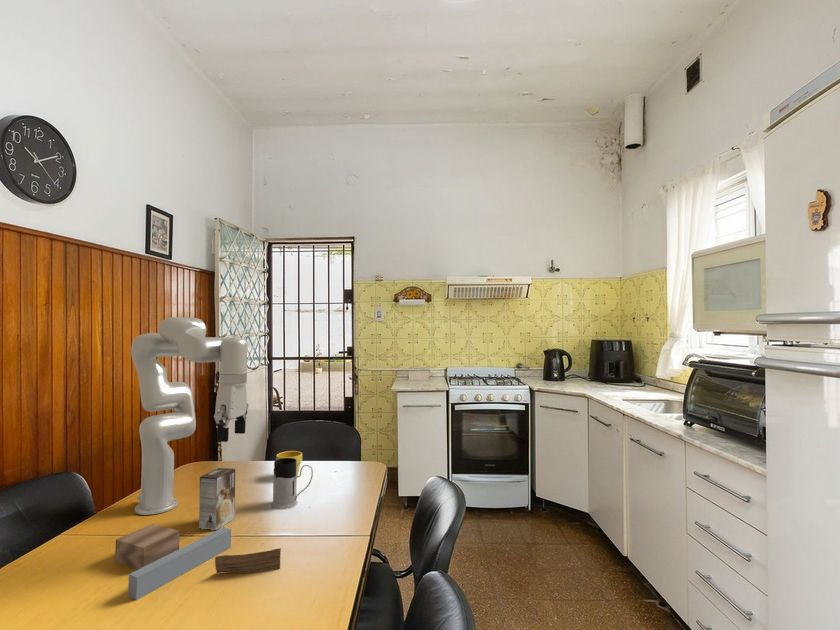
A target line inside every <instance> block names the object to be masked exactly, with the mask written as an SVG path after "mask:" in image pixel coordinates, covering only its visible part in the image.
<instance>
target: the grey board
mask: <svg viewBox="0 0 840 630" xmlns="http://www.w3.org/2000/svg"><path fill="white" fill-rule="evenodd" d="M230 547H231V548H232V529H231V528H228V527H225V526H222V527H221V528H220V529H218V530H217V531H213V532H211V533H208V534H207V535H205V536H203V537H200V538H199V539H197V540H195V541H193V542H191V543H189V544H186V545H185V546H183V547H180V548H179V550H177V551H175V552H173V553H171V554H169V555H167V556H165V557H162V558H160V559H158V560H156V561H154V562H152V563H150V564H148V565H146V566H144V567H142V568H140V569H135V571H132V572H131V573H128V584H127V586H128V588H127V589H128V592H127V597H128V598H131V599H133V600H135V601H137V600H139V599H141V598H143V597H145V596H147V595H148V594H150V593H152V592H153V591H156V590H157V589H159V588H161V587H162V586H165V585H167V584H168V583H170V582H172V581H173V580H175V579H177V578H179V577H180V576H183V575H184V574H186V573H188V572H189V571H191V570H193V569H194V568H196V567H198V566H201V565H202V564H204V563H205V562H207V561H209V560H211V559H212V558H215V557H217V556H218V555H220V554H221V553H224V552H225V551H227V550H229V549H230ZM228 548H229V549H228ZM214 556H215V557H214Z"/></svg>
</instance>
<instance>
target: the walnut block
mask: <svg viewBox="0 0 840 630" xmlns="http://www.w3.org/2000/svg"><path fill="white" fill-rule="evenodd" d="M180 533H181V531H180V530H177V529H173V528H170V527H165V526H162V525H158V524H155V523H154V524H153V523H151V524H149V525H147V526H144V527H142V528H140V529H138V530H135V531H133V532H130V533H128V534H126V535H123V536H121V537H118V538H117V539H115V553H114V554H115V555H114V562H115V563H116V564H119V563H120V565H122V564H123V566H126V567H129V568H132V569H135V570H138V569H140V568H142V567H144V566H146V565H148V564H150V563H152V562H154V561H156V560H158V559H160V558H162V557H165V556H167V555H169V554H171V553H173V552H175V551H177V550H179V549H180V540H181V539H180V536H181V534H180Z"/></svg>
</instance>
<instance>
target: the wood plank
mask: <svg viewBox="0 0 840 630" xmlns="http://www.w3.org/2000/svg"><path fill="white" fill-rule="evenodd" d="M281 550H282V549H281V548H275V549H271V550H265V551H258V552H253V553H246V554H230V555H229V554H228V555H227V554H226V555H219V556H218V555H216V556H215V557H214V560H215V561H214V566H215V570H216V574H218V573H226V574H251V573H257V572H266V571H274V570H280V569H281V552H282V551H281Z"/></svg>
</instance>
